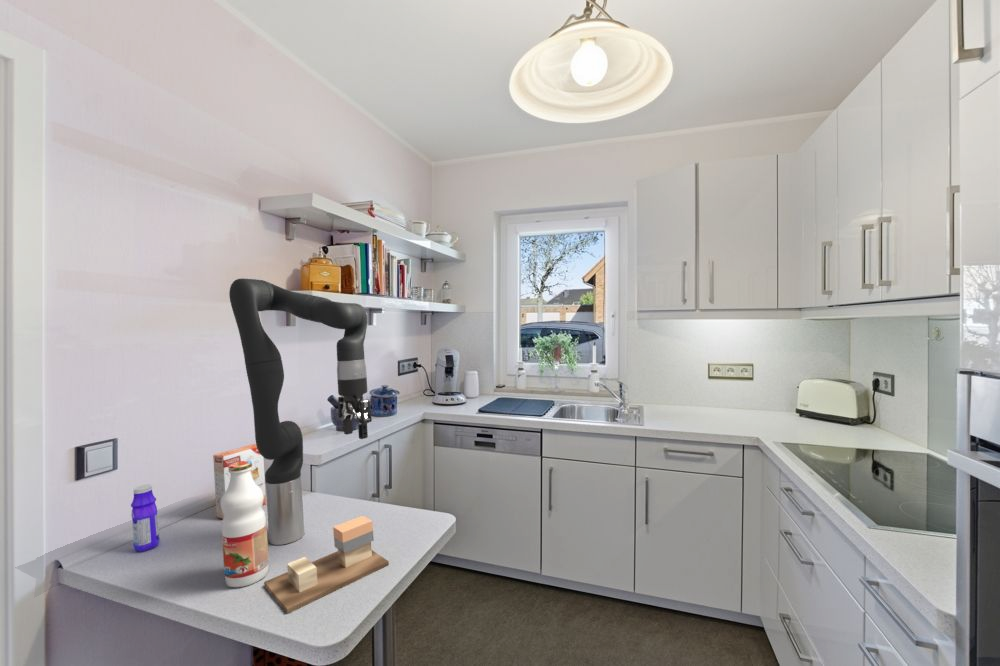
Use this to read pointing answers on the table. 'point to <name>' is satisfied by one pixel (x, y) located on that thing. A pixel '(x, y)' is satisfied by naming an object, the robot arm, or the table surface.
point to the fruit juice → (244, 528)
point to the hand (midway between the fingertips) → (355, 436)
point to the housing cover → (352, 529)
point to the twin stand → (322, 576)
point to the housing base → (353, 542)
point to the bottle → (144, 519)
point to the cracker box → (224, 476)
